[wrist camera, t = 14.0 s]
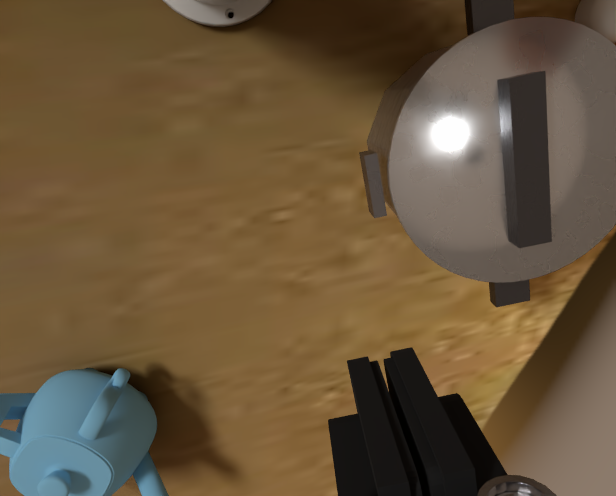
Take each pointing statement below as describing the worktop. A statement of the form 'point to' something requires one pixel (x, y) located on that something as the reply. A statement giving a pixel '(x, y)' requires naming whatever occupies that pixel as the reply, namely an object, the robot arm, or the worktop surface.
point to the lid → (509, 150)
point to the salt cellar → (598, 17)
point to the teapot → (80, 436)
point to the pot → (479, 14)
